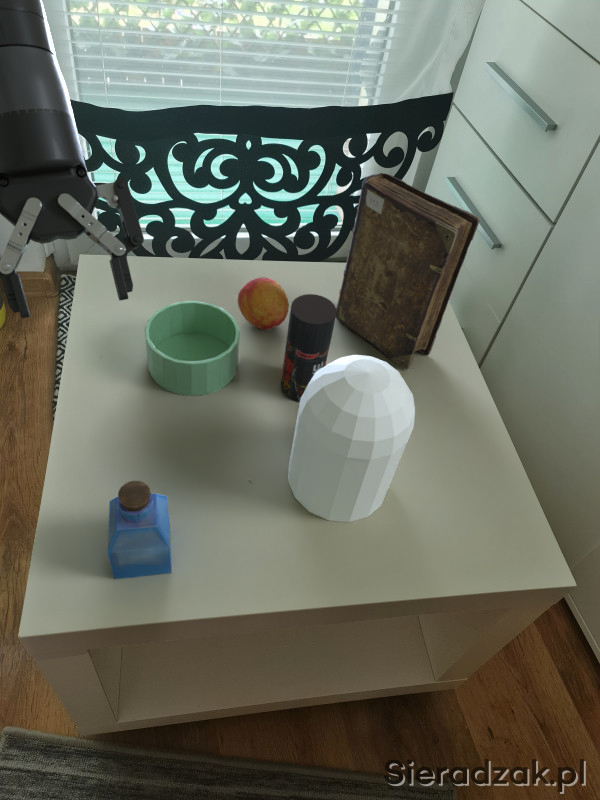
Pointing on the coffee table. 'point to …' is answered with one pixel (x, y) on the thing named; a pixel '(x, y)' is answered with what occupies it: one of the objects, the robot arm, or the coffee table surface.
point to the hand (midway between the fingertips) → (76, 308)
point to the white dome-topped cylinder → (349, 437)
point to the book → (402, 266)
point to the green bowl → (192, 347)
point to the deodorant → (306, 342)
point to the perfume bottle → (139, 532)
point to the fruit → (263, 303)
